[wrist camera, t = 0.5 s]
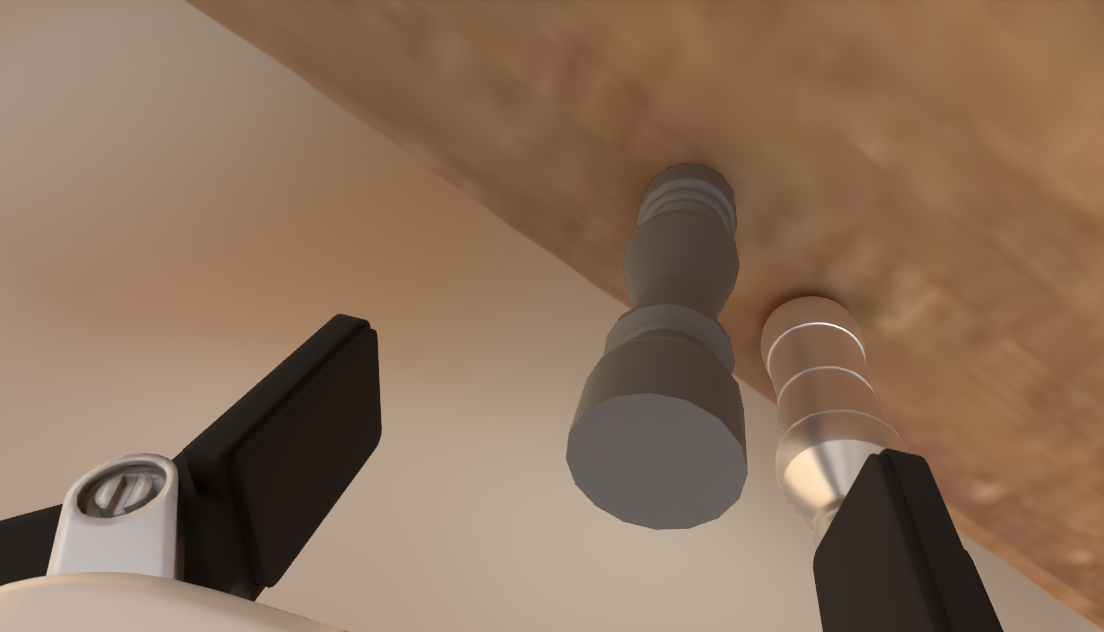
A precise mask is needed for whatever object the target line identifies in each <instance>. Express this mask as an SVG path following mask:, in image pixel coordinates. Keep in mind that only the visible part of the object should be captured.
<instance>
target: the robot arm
mask: <svg viewBox="0 0 1104 632" xmlns="http://www.w3.org/2000/svg"><path fill="white" fill-rule="evenodd" d="M381 431H382V427H381V405H380V383H379V361H378V340H377V333H376V331H375V330H374V329H371V328H370V324H369V322H368V321H366V320H364V319H360V318H356V317H352V316H347V315H343V314H338V315H336V316H334V317H333V318H332V319H331V320H330V321H329V322H327V323H326V324H325V325H324V326H323V327H322V328H320V329H319V330H318V331H317V332H316V333H315V334H314V335H313V336H311V337H310V338H309V339H308V340H307V341H306V342H305V343H303V344H302V345H301V346H300V347H299V348H298V349H297V350H296V351H294V352H293V353H292V354H291V355H290V356H289V357H287V358H286V359H285V360H284V361H283V362H282V363H281V364H280V365H278V366H277V367H276V368H275V369H274V370H273V371H272V372H270V373H269V374H268V375H267V376H266V377H265V378H264V379H262V380H261V381H260V382H259V383H258V384H257V385H256V386H255V387H254V388H252V389H251V390H250V391H249V392H248V393H247V394H246V395H244V396H243V397H242V398H241V399H240V400H239V401H237V402H236V403H235V404H234V405H233V406H232V407H231V408H230V409H228V410H227V411H226V412H225V413H224V414H223V415H222V416H220V417H219V418H218V419H217V420H216V421H215V422H214V423H212V424H211V425H210V426H209V427H208V428H207V429H206V430H204V431H203V432H202V433H201V434H200V435H199V436H198V437H197V438H195V439H194V440H193V441H192V442H191V443H190V444H189V445H187V446H186V447H185V448H184V449H183V451H182V452H181V453H179V454H178V455H177V456H176V457H175V458H174V459H172V460H170V459H168V458H165V457H163V456H161V455H158V454H148V453H141V454H132V455H126V456H122V457H119V458H115V459H112V460H109V461H107V462H105V463H103V464H101V465H99V466H97V467H94V468H93V469H92V470H90V471H89V472H87V473H86V474H84V475H83V476H82V477H80V478H79V479H78V480H77V481H76V482H75V484H74V485H73V486H72V487H71V488H70V489H69V491H68V493H67V495H66V497H65V499H64V502H63V504H60V505H57V506H53V507H49V508H45V509H42V510H38V511H34V512H31V513H27V514H24V515H20V516H16V517H12V518H9V519H5V520H2V521H0V632H348V631H345V630H342V629H339V628H335V627H333V626H329V625H326V624H323V623H320V622H317V621H314V620H311V619H308V618H305V617H302V616H299V615H296V614H293V613H289V612H286V611H283V610H279V609H276V608H273V607H269V606H266V605H263V604H259V603H256V602H254V601H255V600H256V599H257V597H258V596H259V595H260V593H261V592H262V591H263V589H264V588H265V587H268V588H270V587H273V586H274V585H275V584H276V583H277V582H278V581H279V580H280V578H281V577H282V576H283V574H284V573H285V572H286V570H287V569H288V568H289V566H290V565H291V564H292V562H293V561H294V559H295V558H296V557H297V555H298V554H299V553H300V551H301V550H302V549H303V547H304V546H305V544H306V543H307V542H308V540H309V539H310V538H311V536H312V535H313V534H314V532H315V531H316V529H317V528H318V527H319V525H320V524H321V522H322V521H323V519H324V518H325V517H326V516H327V514H328V513H329V512H330V510H331V509H332V508H333V506H334V504H335V503H336V502H337V501H338V499H339V498H340V496H341V495H342V493H343V492H344V491H345V490H346V488H347V487H348V486H349V484H350V483H351V482H352V480H353V479H354V477H355V476H356V475H357V473H358V472H359V470H360V469H361V468H362V466H363V465H364V464H365V462H366V461H367V459H368V458H369V457H370V456H371V454H372V453H373V451H374V450H375V448H376V447H377V445H378V443H379V441H380V437H381ZM813 571H814V577H815V584H816V591H817V597H818V603H819V610H820V616H821V622H822V629H823V632H1003V629H1002V627H1001V625H1000V622H999V620H998V618H997V616H996V613H995V611H994V608H993V606H992V604H991V602H990V599H989V597H988V595H987V592H986V590H985V588H984V585H983V583H982V581H981V579H980V576H979V574H978V572H977V569H976V567H975V565H974V562H973V560H972V559H971V557H970V555H969V554H968V552H967V551H966V550H965V549H964V548H963V546H962V543H961V541H960V539H959V536H958V534H957V532H956V529H955V527H954V525H953V522H952V520H951V517H950V515H949V513H948V510H947V508H946V506H945V503H944V501H943V499H942V496H941V494H940V492H939V489H938V487H937V485H936V482H935V480H934V478H933V475H932V473H931V471H930V468H929V466H928V464H927V462H926V460H925V459H924V458H923V457H921V456H918V455H914V454H910V453H906V452H902V451H898V450H893V449H889V448H886V449H884V450H882V451H881V452H880V454H875V453H872V454H870V455H869V456H868V458H867V459H866V461H865V463H864V464H863V466H862V468H861V470H860V472H859V473H858V475H857V477H856V479H855V481H854V482H853V484H852V486H851V488H850V490H849V492H848V493H847V495H846V497H845V499H844V501H843V502H842V504H841V506H840V508H839V510H838V511H837V513H836V515H835V517H834V519H833V520H832V522H831V524H830V526H829V528H828V529H827V531H826V533H825V535H824V537H823V539H822V540H821V542H820V544H819V546H818V548H817V550H816V552H815V556H814V561H813Z"/></svg>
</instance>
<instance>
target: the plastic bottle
mask: <svg viewBox="0 0 1104 632" xmlns="http://www.w3.org/2000/svg"><path fill="white" fill-rule="evenodd" d="M760 350H761V355H762V359H763V362H764V364H765V367H766V369H767V372H768V374H769V376H770V378H771V379H772V383H773V386H774V390H775V393H776V397H777V406H778V423H779V429H778V440H777V452H776V478H777V482H778V485H779V487H780V489H781V492H782V493H783V495H784V497H785V499H786V501H787V503H788V504H789V506H790V507H791V508H792V509H793V511H794V512H795V513H797V514H798V515H799V516H800V517H801V518H802V519H803V520H805V521H806V522H807V523H808V524H809V525H810V526H811V529H812V535H813V541H814V543H815V545H816V547H817V548H818V546H819V544H820V542H821V540H822V539H823V537H824V535H825V533H826V531H827V529H828V528H829V526H830V524H831V522H832V520H833V519H834V517H835V515H836V513H837V511H838V510H839V508H840V506H841V504H842V502H843V501H844V499H845V497H846V495H847V493H848V492H849V490H850V488H851V486H852V484H853V482H854V481H855V479H856V477H857V475H858V473H859V472H860V470H861V468H862V466H863V464H864V463H865V461H866V459H867V458H868V456H869V455H870V454H872V453H875V454H880V452H881V451H882V450H884V449H886V448H889V449H893V450H898V451H902V452H906V453H909V452H908V450H907V448H906V446H905V444H904V443H903V441H902V440H901V438H900V437H899V435H898V434H897V432H896V431H895V429H894V428H893V426H892V425H891V423H890V421H889V420H888V418H887V417H886V415H885V414H884V412H883V411H882V408H881V406H880V404H879V402H878V400H877V398H876V396H875V394H874V392H873V389H872V387H871V385H870V381H869V376H868V372H867V367H866V351H865V343H864V336H863V333H862V330H861V328H860V326H859V325H858V323H857V322H856V320H855V319H854V318H853V317H852V315H851V314H850V313H849V312H848V311H847V310H846V309H845V308H844V307H843V306H841V305H840V304H838V303H837V302H835V301H832V300H830V299H827V298H823V297H817V296H806V297H799V298H796V299H792V300H789V301H787V302H786V303H784V304H782V305H780V306H779V307H778V308H776V309H775V310H774V311H773V312H772V313H771V315H770V316H769V317H768V319H767V321H766V323H765V325H764V328H763V332H762V337H761V344H760Z"/></svg>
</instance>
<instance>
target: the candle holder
mask: <svg viewBox="0 0 1104 632" xmlns="http://www.w3.org/2000/svg"><path fill="white" fill-rule="evenodd" d="M736 226H737V219H736V207H735V201H734V196H733V191H732V189H731V187H730V186H729V184H728V183H727V182H726V180H725V179H724V177H723V176H722V175H721V174H719V173H717V172H716V171H714V170H712V169H711V168H709V167H707V166H704V165H697V164H690V163H686V164H682V165H678V166H674V167H670V168H668V169H666V170H665V171H664V172H662V173H661V174H659V175H658V176H657V177H655V178H654V179H653V181H652V182H651V184H650V185H649V187H648V189H647V190H646V192H645V193H644V196H643V199H642V202H641V205H640V207H639V212H638V218H637V224H636V229H637V230H636V231H635V233H634V234H633V236H632V238H631V239H630V241H629V242H628V244H627V247H626V251H625V258H624V264H623V270H624V275H625V279H626V283H627V288H628V293H629V297H630V302H631V307H632V309H631V310H630V311H628V312H626V313H625V314H623V315H621V317H620V318H619V319H618V321H617V322H616V324H615V325H614V327H613V328H612V329H611V331H610V332H609V334H608V335H607V338H606V345H605V352H604V356H603V357H602V358H601V359H600V361H599V362H598V363H597V365H596V366H595V368H594V369H593V371H592V372H591V373H590V375H589V376H588V378H587V381H586V383H585V387H584V390H583V393H582V396H581V399H580V402H579V405H578V408H577V411H576V414H575V417H574V420H573V423H572V426H571V429H570V432H569V437H568V446H567V454H566V461H567V463H568V466H569V468H570V471H571V473H572V476H573V479H574V481H575V484H576V485H577V486H578V487H579V488H580V490H582V491H583V493H584V494H585V495H586V496H587V497H588V498H589V499H590V500H591V501H592V502H593V503H594V505H596V506H597V507H599V508H601V509H602V510H604V511H606V512H608V513H609V514H611V515H613V516H615V517H616V518H618V519H620V520H622V521H623V522H627V523H631V524H635V525H639V526H644V527H648V528H652V529H656V530H659V529H688V528H692V527H695V526H698V525H700V524H703V523H706V522H709V521H711V520H714V519H717V518H719V517H720V516H721V515H722V514H723V513H724V512H725V511H726V510H728V509H729V508H730V507H731V506H732V505H733V504H734V503H735V502H736V501H737V500H739V498H740V495H741V492H742V489H743V486H744V483H745V480H746V477H747V474H748V472H747V457H746V440H745V423H744V409H743V404H742V400H741V395H740V390H739V385H738V383H737V382H736V381H735V379H734V378H733V377H732V376H731V375H732V371H733V368H734V364H735V360H734V355H733V350H732V345H731V341H730V337H729V335H728V334H727V332H726V331H725V330H724V329H723V327H722V326H721V325H720V323H719V322H718V321H717V318H718V316H719V314H720V312H721V311H722V309H723V307H724V305H725V303H726V301H727V299H728V298H729V296H730V294H731V292H732V290H733V289H734V286H735V283H736V279H737V275H738V271H739V267H740V266H739V259H738V253H737V248H736V243H735V241H734V239H733V238H734V234H735V230H736Z"/></svg>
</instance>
